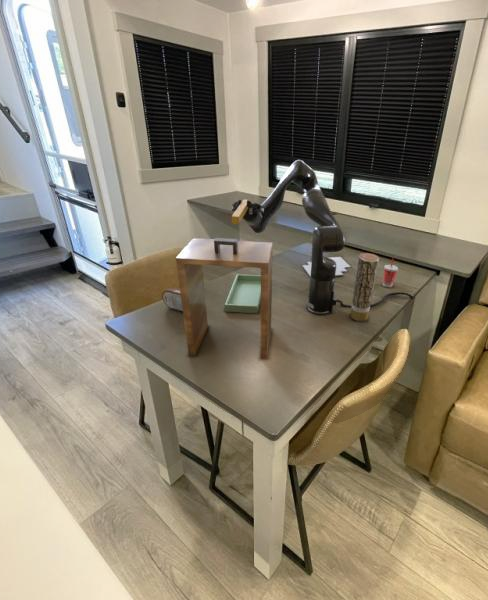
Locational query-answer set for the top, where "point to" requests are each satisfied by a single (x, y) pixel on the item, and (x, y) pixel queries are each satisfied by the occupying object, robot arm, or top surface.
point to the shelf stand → (221, 255)
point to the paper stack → (339, 266)
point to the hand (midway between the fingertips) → (243, 202)
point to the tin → (172, 298)
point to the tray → (244, 294)
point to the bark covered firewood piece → (364, 286)
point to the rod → (240, 212)
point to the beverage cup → (389, 274)
